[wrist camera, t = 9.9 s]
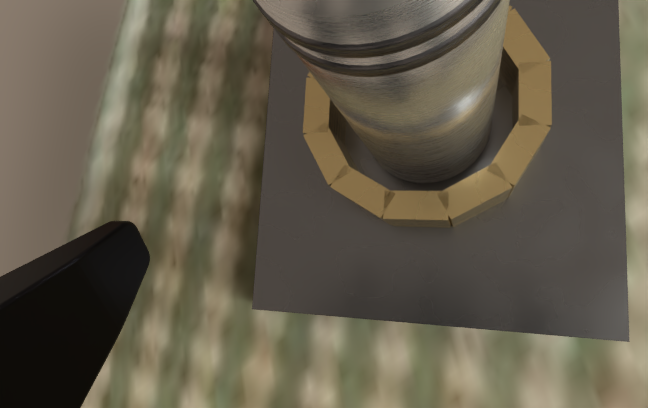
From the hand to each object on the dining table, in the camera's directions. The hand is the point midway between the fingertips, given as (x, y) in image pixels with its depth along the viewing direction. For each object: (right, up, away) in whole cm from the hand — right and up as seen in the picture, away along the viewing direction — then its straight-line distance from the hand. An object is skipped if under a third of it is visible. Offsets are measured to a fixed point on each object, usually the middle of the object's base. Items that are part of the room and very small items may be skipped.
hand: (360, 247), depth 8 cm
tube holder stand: (+4, +4, +12) cm, 14 cm away
